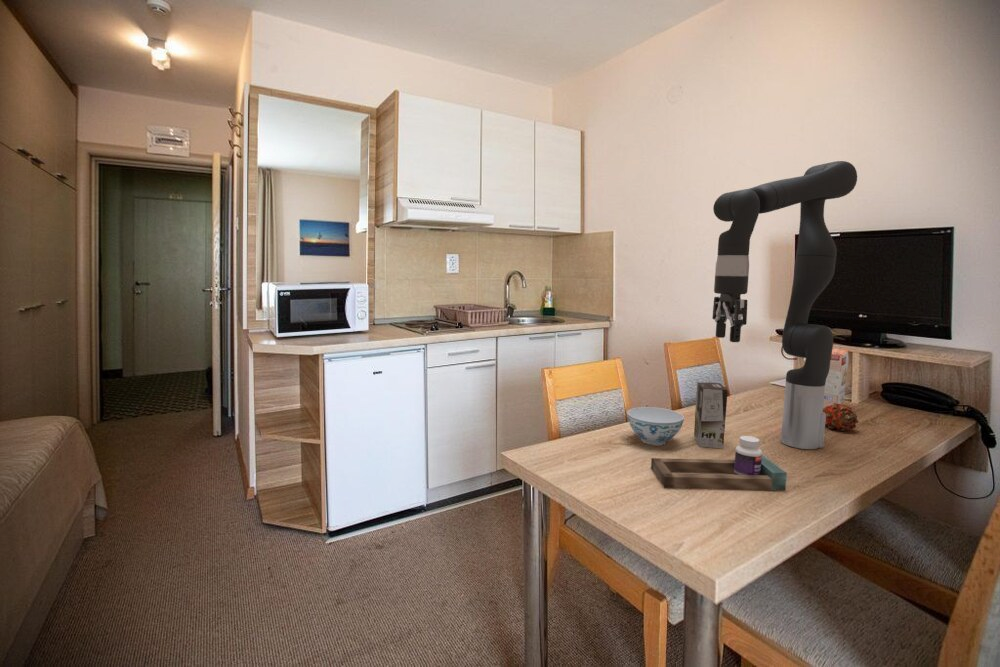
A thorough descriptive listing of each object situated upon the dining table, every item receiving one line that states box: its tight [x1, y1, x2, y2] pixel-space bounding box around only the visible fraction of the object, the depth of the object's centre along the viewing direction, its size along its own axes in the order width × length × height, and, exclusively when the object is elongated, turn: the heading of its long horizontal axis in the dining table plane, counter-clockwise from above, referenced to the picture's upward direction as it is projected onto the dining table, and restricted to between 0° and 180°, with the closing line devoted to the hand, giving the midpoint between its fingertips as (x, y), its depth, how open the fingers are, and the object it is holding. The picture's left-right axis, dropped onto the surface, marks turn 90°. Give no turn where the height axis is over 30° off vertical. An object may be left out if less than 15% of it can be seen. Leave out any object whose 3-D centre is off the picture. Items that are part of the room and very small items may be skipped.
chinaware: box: [626, 406, 685, 446], centre depth 140 cm, size 15×15×8 cm
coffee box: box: [693, 381, 729, 449], centre depth 139 cm, size 9×6×16 cm
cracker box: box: [823, 348, 850, 408], centre depth 172 cm, size 14×6×21 cm, turn 138°
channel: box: [650, 454, 788, 491], centre depth 115 cm, size 26×11×4 cm, turn 89°
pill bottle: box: [733, 435, 763, 475], centre depth 114 cm, size 5×5×10 cm
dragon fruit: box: [823, 403, 860, 432], centre depth 153 cm, size 8×8×12 cm
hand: (727, 339), depth 126 cm, fingers open, 8 cm apart
